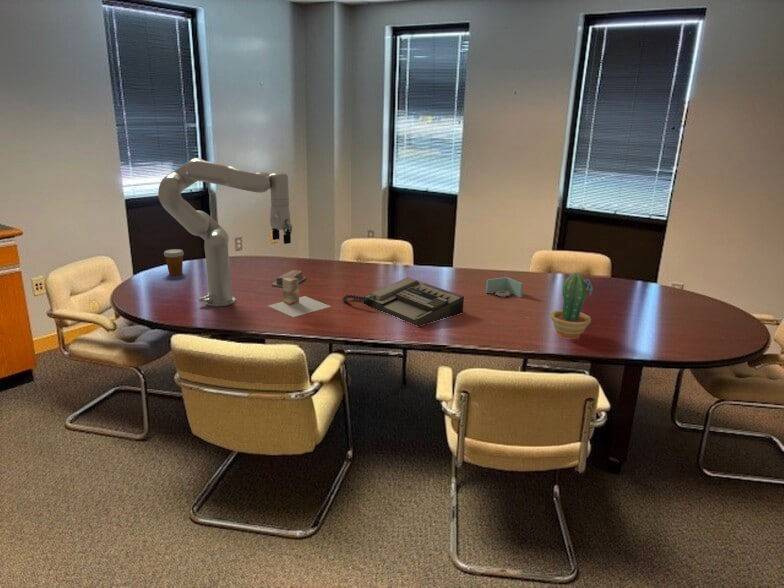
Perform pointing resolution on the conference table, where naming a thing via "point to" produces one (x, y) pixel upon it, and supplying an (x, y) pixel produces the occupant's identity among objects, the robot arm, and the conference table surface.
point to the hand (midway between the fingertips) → (281, 241)
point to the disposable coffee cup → (174, 261)
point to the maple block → (290, 290)
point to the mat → (299, 306)
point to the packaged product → (291, 273)
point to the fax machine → (414, 301)
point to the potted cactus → (572, 308)
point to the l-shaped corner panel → (504, 286)
